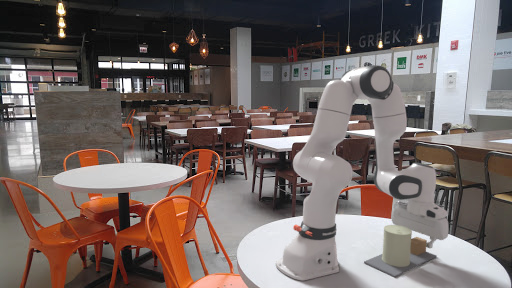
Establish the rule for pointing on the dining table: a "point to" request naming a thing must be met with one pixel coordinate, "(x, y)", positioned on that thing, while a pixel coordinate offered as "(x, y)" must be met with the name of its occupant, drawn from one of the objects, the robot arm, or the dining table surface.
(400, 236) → the can
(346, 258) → the dining table surface
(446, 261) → the dining table surface
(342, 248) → the dining table surface
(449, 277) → the dining table surface
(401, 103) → the robot arm
